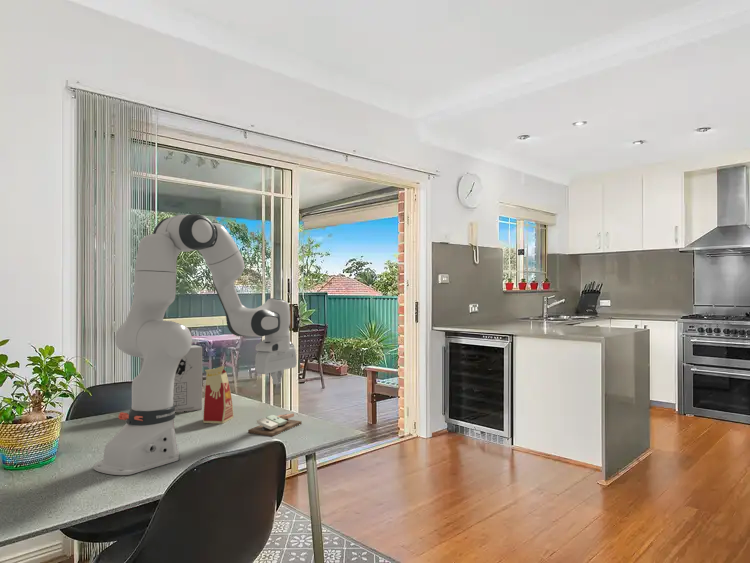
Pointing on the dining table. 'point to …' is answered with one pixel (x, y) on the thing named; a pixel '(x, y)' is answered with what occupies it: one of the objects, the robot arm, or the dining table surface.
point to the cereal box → (188, 381)
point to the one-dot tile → (267, 423)
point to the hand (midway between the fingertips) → (276, 383)
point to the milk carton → (217, 397)
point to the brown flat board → (274, 431)
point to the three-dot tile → (286, 416)
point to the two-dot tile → (276, 420)
